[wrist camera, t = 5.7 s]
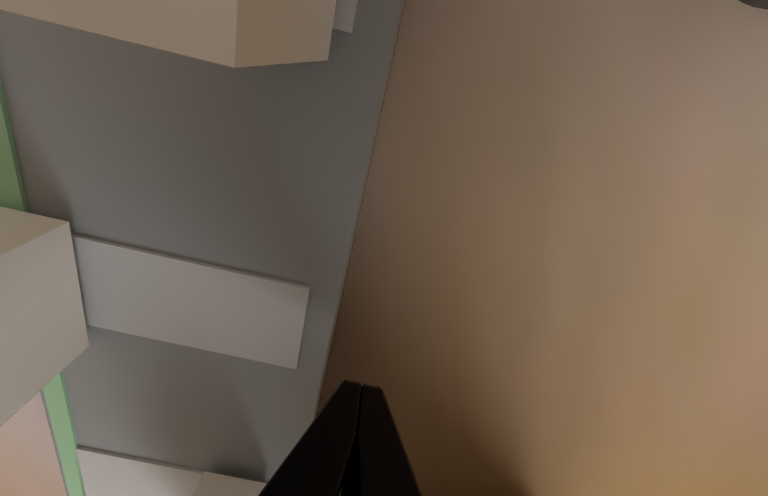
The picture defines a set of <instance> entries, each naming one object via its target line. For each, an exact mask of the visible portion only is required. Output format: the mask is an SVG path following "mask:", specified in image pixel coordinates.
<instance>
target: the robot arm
mask: <svg viewBox="0 0 768 496" xmlns="http://www.w3.org/2000/svg"><path fill="white" fill-rule="evenodd" d="M339 493H340V496H422V494H421V491H420V489H419V486H418V483H417V481H416V478H415V475H414V472H413V470H412V467H411V464H410V462H409V459H408V456H407V454H406V451H405V448H404V446H403V443H402V440H401V438H400V435H399V432H398V430H397V427H396V424H395V422H394V419H393V416H392V414H391V411H390V408H389V405H388V403H387V400H386V397H385V395H384V392H383V390H382V388H380V387H377V386H373V385H368V384H364V385H363V386H362V384H361V383H359V382H354V381H349V380H344V381H342V383H341V384H340V385H339V387H338V388H337V389H336V391H335V392H334V393H333V395H332V396H331V397H330V399H329V400H328V401H327V403H326V404H325V405H324V407H323V408H322V410H321V411H320V412H319V414H318V415H317V416H316V418H315V419H314V420H313V422H312V423H311V424H310V426H309V427H308V428H307V430H306V431H305V433H304V434H303V435H302V437H301V438H300V439H299V441H298V442H297V443H296V445H295V446H294V447H293V449H292V450H291V451H290V453H289V454H288V456H287V457H286V458H285V460H284V461H283V462H282V464H281V465H280V466H279V468H278V469H277V470H276V472H275V473H274V474H273V476H272V477H271V478H270V480H269V481H268V483H267V484H266V485H265V487H264V488H263V489H262V491H261V492H260V493H259V495H258V496H339Z"/></svg>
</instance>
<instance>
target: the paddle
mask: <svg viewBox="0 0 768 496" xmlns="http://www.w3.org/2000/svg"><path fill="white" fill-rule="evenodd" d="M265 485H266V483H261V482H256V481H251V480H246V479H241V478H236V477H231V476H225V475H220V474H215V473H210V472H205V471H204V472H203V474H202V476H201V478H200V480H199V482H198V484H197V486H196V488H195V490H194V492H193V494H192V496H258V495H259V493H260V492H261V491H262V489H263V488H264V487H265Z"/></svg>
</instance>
